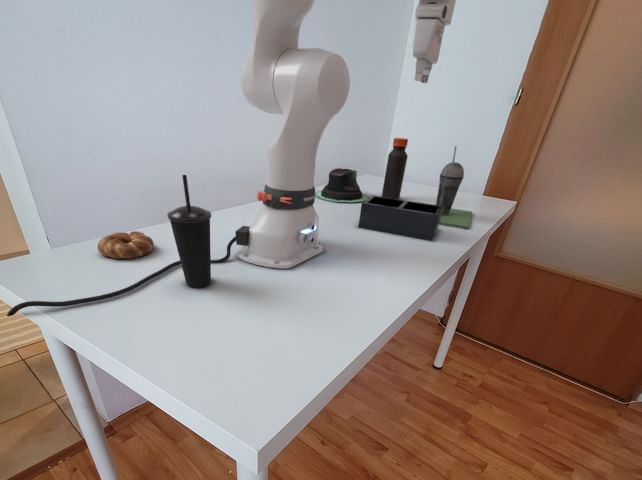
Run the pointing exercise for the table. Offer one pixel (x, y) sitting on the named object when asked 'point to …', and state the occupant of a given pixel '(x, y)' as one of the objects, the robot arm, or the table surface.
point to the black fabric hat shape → (342, 187)
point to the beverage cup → (449, 185)
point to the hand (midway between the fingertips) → (420, 82)
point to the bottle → (395, 169)
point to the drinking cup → (192, 241)
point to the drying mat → (457, 218)
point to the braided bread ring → (125, 245)
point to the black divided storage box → (400, 217)
